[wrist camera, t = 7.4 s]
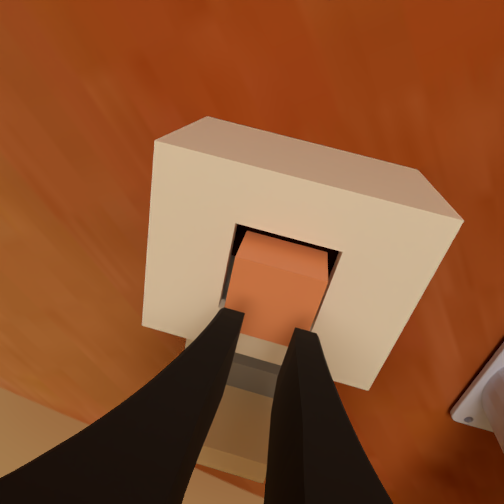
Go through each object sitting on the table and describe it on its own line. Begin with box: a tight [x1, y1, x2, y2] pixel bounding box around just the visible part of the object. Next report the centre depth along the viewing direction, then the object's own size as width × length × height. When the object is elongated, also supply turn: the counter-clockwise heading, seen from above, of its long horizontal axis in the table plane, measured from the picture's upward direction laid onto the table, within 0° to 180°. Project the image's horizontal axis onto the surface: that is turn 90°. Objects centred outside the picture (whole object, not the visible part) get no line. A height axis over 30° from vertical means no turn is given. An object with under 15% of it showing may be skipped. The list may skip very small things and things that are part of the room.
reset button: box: [224, 231, 328, 347], centre depth 13 cm, size 3×3×2 cm
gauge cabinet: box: [142, 116, 464, 391], centre depth 16 cm, size 10×8×6 cm
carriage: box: [196, 352, 281, 484], centre depth 19 cm, size 6×5×6 cm
